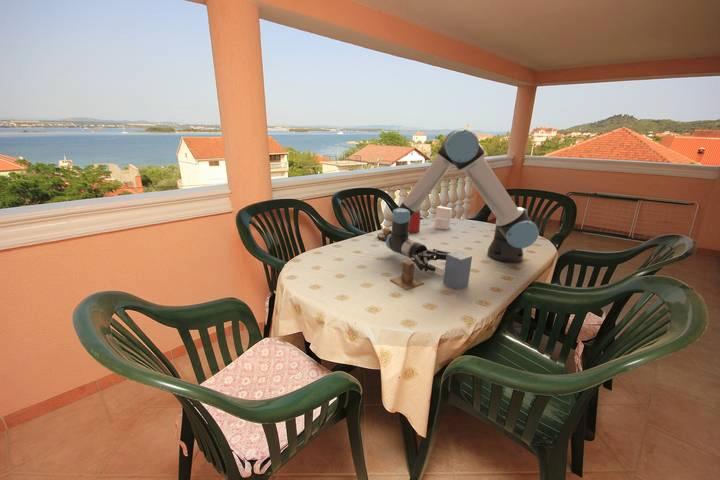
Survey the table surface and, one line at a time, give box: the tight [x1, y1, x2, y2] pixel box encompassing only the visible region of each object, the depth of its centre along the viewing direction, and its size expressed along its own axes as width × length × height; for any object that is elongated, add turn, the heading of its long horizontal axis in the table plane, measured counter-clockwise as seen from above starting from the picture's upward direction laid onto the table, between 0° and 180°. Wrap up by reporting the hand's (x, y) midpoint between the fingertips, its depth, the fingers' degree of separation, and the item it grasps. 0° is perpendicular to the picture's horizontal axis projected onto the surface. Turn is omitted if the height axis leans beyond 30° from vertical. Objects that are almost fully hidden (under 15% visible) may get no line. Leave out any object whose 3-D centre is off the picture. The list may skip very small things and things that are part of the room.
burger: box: [377, 226, 392, 242], centre depth 168 cm, size 12×12×8 cm
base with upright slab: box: [434, 205, 453, 230], centre depth 188 cm, size 9×9×12 cm
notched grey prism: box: [442, 250, 473, 291], centre depth 117 cm, size 6×6×12 cm
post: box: [389, 260, 425, 291], centre depth 119 cm, size 9×9×8 cm
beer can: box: [408, 209, 422, 234], centre depth 180 cm, size 7×7×12 cm
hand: (455, 268), depth 118 cm, fingers open, 13 cm apart
